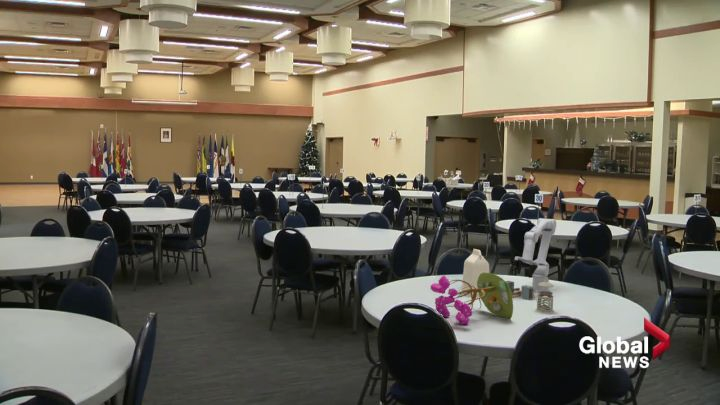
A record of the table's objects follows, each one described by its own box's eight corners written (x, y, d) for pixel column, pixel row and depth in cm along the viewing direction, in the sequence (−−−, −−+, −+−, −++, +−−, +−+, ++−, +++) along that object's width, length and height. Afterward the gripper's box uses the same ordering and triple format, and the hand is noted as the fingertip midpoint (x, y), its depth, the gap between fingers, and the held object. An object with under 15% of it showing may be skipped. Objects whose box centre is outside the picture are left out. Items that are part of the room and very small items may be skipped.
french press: (551, 314, 327) (553, 265, 325) (529, 311, 333) (530, 263, 331) (557, 310, 335) (558, 263, 333) (534, 307, 341) (536, 260, 339)
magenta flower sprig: (509, 259, 309) (449, 275, 294) (524, 318, 307) (464, 337, 292) (474, 265, 336) (417, 280, 321) (487, 319, 334) (430, 336, 318)
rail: (517, 291, 381) (517, 277, 381) (530, 294, 373) (531, 280, 373) (496, 294, 370) (497, 281, 370) (510, 298, 363) (510, 284, 362)
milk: (461, 293, 374) (462, 248, 372) (479, 291, 377) (480, 247, 375) (471, 297, 363) (472, 251, 360) (489, 296, 366) (491, 251, 364)
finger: (525, 297, 365) (526, 285, 365) (533, 299, 361) (534, 286, 360) (521, 298, 363) (521, 286, 362) (529, 300, 358) (529, 287, 358)
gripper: (521, 248, 360) (517, 271, 357) (543, 255, 364) (539, 278, 361) (514, 249, 367) (510, 272, 363) (536, 256, 370) (532, 279, 367)
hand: (524, 275), depth 362 cm, fingers open, 7 cm apart
